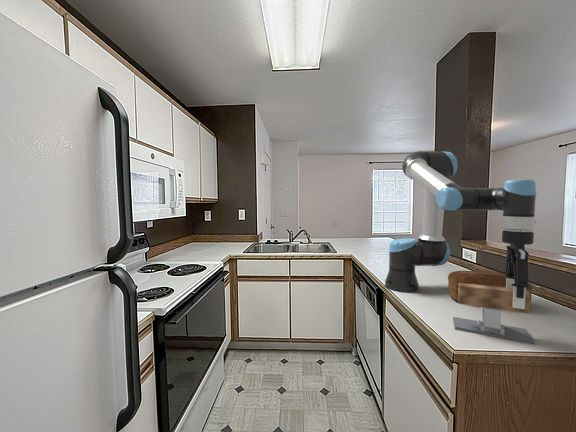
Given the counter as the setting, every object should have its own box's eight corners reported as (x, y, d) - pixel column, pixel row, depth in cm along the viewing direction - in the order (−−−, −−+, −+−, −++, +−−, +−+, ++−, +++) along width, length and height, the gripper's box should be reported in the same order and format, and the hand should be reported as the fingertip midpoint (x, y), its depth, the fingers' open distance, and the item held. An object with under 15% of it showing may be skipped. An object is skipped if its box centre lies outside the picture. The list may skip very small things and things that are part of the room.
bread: (444, 293, 128) (445, 266, 128) (519, 300, 119) (520, 271, 119) (451, 303, 115) (452, 273, 114) (536, 312, 106) (537, 280, 106)
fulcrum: (454, 329, 91) (455, 305, 91) (453, 319, 99) (453, 297, 99) (534, 343, 82) (535, 317, 82) (525, 331, 90) (526, 307, 90)
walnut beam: (459, 303, 92) (459, 285, 92) (458, 300, 96) (458, 282, 96) (529, 313, 84) (530, 293, 84) (525, 308, 88) (526, 289, 88)
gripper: (545, 234, 75) (541, 317, 76) (523, 228, 94) (520, 295, 95) (510, 232, 79) (507, 312, 80) (495, 227, 97) (493, 291, 99)
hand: (514, 303), depth 87 cm, fingers open, 8 cm apart
